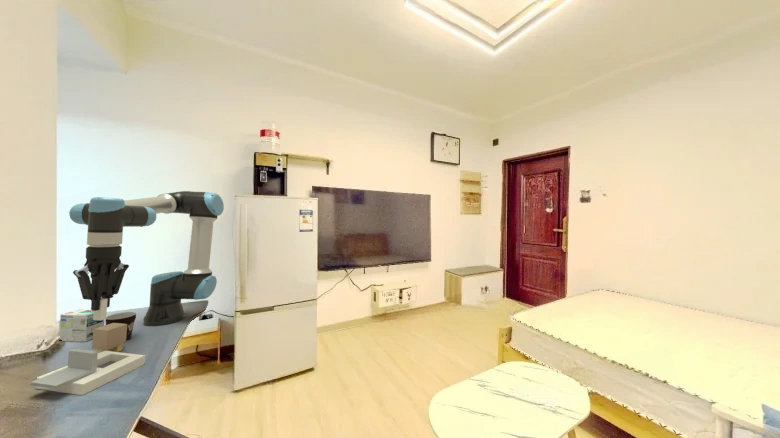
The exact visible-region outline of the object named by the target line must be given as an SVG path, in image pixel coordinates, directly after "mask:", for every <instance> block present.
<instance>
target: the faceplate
mask: <svg viewBox="0 0 780 438" xmlns="http://www.w3.org/2000/svg"><path fill="white" fill-rule="evenodd" d="M145 361H146V355H145V354H144V355H143V354H137V353H129V352H128V353H127V352H121V351H119V352H114V350H111V351H103V352H101V353H98V357H97V370H96V371H95V372H93V373H91V374H88V375H86V376H84V377H82V378H79V379H77V380H75V381H73V382H70V383H68V384H66V385H64V386H61V387H59V388H57V389H54V388H47V387H40V386H34V389H36V390H38V389H39V390H42V391H44V390H45V391H51V392H56V393H64V394H65V393H66V394H72V395H78V396H84V395H85V394H88V393H89V392H92V391H94V390H96V389H98V388H100V387H102V386H104V385H105V384H109V383H110V382H112V381H114V380H115V379H118V378H120V377H121V376H124V375H126V374H128V373H130V372H131V371H132V372H133V371H134V370H135V369H138V368H140V367H142V366H143V365H145V363H146V362H145ZM67 367H68V364H67V365H65V366H63V367H60V368H57V369H55V370H53V371H50V372H48V373H45V374H42V375H39V376H37V377H35V380H37V379H40V378H42V377H45V376H47V375H50V374H52V373H55V372H57V371H60V370H62V369H65V368H67Z"/></svg>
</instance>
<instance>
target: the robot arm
mask: <svg viewBox="0 0 780 438" xmlns="http://www.w3.org/2000/svg"><path fill="white" fill-rule="evenodd" d="M224 209H225V207H224V201H223V199H222V197H221V196H220V195H219V194H218V193H216V192H209V191H208V192H207V191H190V190H189V191H188V190H183V191H174V192H168V193H167V192H166V193H161V194H158V195H157V196H152V197H143V198H134V199H125V200H124V199H123V198H118V197H117V198H116V197H105V196H104V197H102V196H100V197H99V196H95V197H91V198H90V200H89V203H88V202H86V203H82V202H81V203H76V204H75V205H73V206H72V207H70V210H69V211H68V213H69V218H70V220H71V221H72V222H74V223H75V224H78V225H85V226H87V235H86V237H87V238H86V245H88V246H87V247H86V248H85V259H86V261H85V263H84V265H83V267H81V268H80V269H74V270H73V271H72V274H73V275H74V276H75V277H76V278H77V282H78V286H79V290H80V293H81V296H82V300H88V301H91V303H90V310H93V311H94V313H93V320H99V321H101V320H104V321H105V320H106V317H107V316H108V315H107V312H108V311H107V310H108V308H109V307H110V305H111V303H110V302H111V299H112V298H114V295H118V294H119V291H120V288H121V286H122V283H123V280H124V278H125V277H124V276H125V275H126V274H125V273H126V271H127V269H128V268H129V267H130V265H129V264H125V263H123V262H122V260H121V258H120V257H122V250H123V249H122V246H121V245H122V244H123V236H124V233H123V232H124V227H125V228H126V227H129V228H130V227H132V228H133V227H136V228H137V227H139V228H143V227H149V226H151V225H153V224H154V223H155V222H156V220H157V214H167V215H168V214H188V215H189V216H188V217H189V219H190V220H192V224H191V235H190V245H189V252H188V261H187V269H185V270H184V271H170V272H164V273H158V274H156V275H153V276H152V278H151V281H150V293H149V304H148V305H149V306H148V309H147V311H146V312H145V313H146V314H145V315H144V317H143V320H142V324H143V325H145V326H149V327H150V326H154V327H155V326H162V325H168V324H172V323H173V324H174V323H176V322H179V321H181V320H182V319H184V318H185V311H184V308H183V304H182V300H205V299H208V298H209V297H211V295H212V294H213V292H214V291H215V290H216V287H217V283H218V280H217V277H216V276H215V275H214V274H213V271H212V269H211V268H210V263H211V262H210V260H211V253H212V252H211V250H212V242H213V241H212V240H213V230H214V229H213V228H214V223H215V222H216V221H217V220H218V216H221V215H222V214H223V212H224ZM89 274H90V276H89ZM90 278H91V279H90Z"/></svg>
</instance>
